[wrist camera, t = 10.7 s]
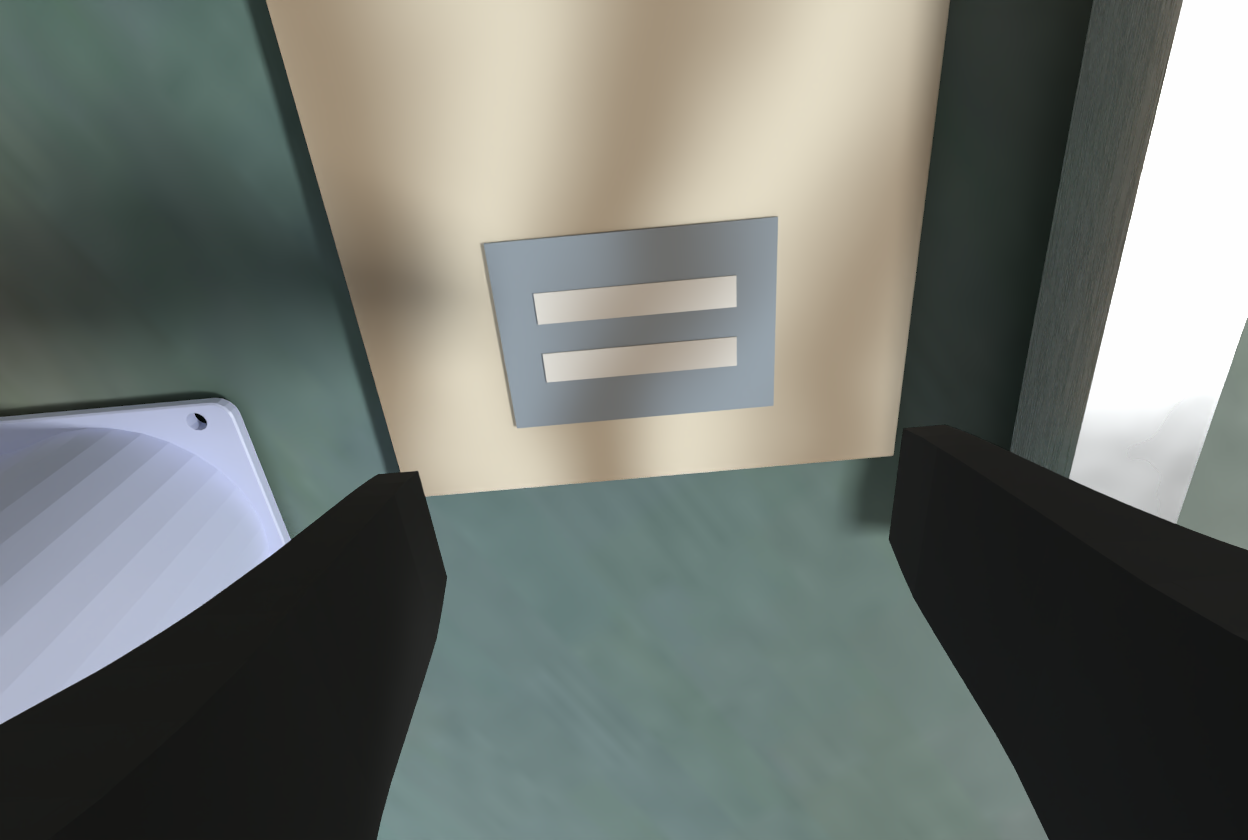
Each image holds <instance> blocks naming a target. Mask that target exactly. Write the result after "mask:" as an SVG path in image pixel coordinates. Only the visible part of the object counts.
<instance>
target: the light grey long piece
mask: <svg viewBox="0 0 1248 840" xmlns="http://www.w3.org/2000/svg"><path fill="white" fill-rule="evenodd" d="M1247 315H1248V0H1093V5H1092V10H1091V16H1090V21H1089V26H1088V32H1087V37H1086V43H1085V48H1084V53H1083V59H1082V64H1081V70H1080V75H1079V80H1078V86H1077V91H1076V97H1075V102H1074V107H1073V113H1072V118H1071V124H1070V129H1069V134H1068V140H1067V145H1066V151H1065V156H1064V161H1063V167H1062V172H1061V178H1060V183H1059V188H1058V194H1057V199H1056V205H1055V210H1054V215H1053V221H1052V226H1051V232H1050V237H1049V242H1048V248H1047V253H1046V259H1045V264H1044V269H1043V275H1042V280H1041V286H1040V291H1039V296H1038V302H1037V307H1036V313H1035V318H1034V323H1033V329H1032V334H1031V340H1030V345H1029V350H1028V356H1027V361H1026V367H1025V372H1024V377H1023V383H1022V388H1021V394H1020V399H1019V404H1018V410H1017V415H1016V421H1015V426H1014V431H1013V437H1012V442H1011V448H1010V452H1012V453H1014V454H1016V455H1018V456H1021V457H1023V458H1025V459H1027V460H1029V461H1031V462H1034V463H1036V464H1038V465H1040V466H1042V467H1044V468H1047V469H1049V470H1051V471H1053V472H1055V473H1058V474H1060V475H1062V476H1064V477H1066V478H1069V479H1071V480H1073V481H1075V482H1077V483H1080V484H1082V485H1084V486H1086V487H1089V488H1091V489H1093V490H1095V491H1098V492H1100V493H1102V494H1105V495H1107V496H1109V497H1112V498H1114V499H1116V500H1118V501H1121V502H1123V503H1125V504H1128V505H1130V506H1133V507H1135V508H1138V509H1140V510H1143V511H1145V512H1148V513H1150V514H1153V515H1155V516H1157V517H1160V518H1162V519H1165V520H1167V521H1170V522H1172V523H1175V524H1176V522H1177V519H1178V517H1179V514H1180V511H1181V508H1182V505H1183V502H1184V499H1185V496H1186V493H1187V490H1188V487H1189V484H1190V481H1191V479H1192V476H1193V473H1194V470H1195V467H1196V464H1197V461H1198V458H1199V455H1200V452H1201V449H1202V446H1203V444H1204V441H1205V438H1206V435H1207V432H1208V429H1209V426H1210V423H1211V420H1212V417H1213V414H1214V411H1215V408H1216V406H1217V403H1218V400H1219V397H1220V394H1221V391H1222V388H1223V385H1224V382H1225V379H1226V376H1227V373H1228V371H1229V368H1230V365H1231V362H1232V359H1233V356H1234V353H1235V350H1236V347H1237V344H1238V341H1239V338H1240V335H1241V333H1242V330H1243V327H1244V324H1245V321H1246V318H1247Z"/></svg>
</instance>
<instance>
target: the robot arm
mask: <svg viewBox="0 0 1248 840" xmlns="http://www.w3.org/2000/svg"><path fill="white" fill-rule="evenodd" d="M195 413H197V414H200V415H202V416H203V417H204V418H205V419H206V421H207V423H202V422H201V421H199V420H198V419H197V418H196V417H195ZM889 541H890V544H891V546H892V549H893V551H894V554H895V556H896V558H897V561H898V563H899V566H900V568H901V571H902V573H903V575H904V578H905V580H906V582H907V584H908V586H909V589H910V591H911V593H912V595H913V598H914V599H915V601H916V603H917V605H918V606H919V608H920V610H921V611H922V613H923V615H924V617H925V618H926V620H927V622H928V623H929V625H930V627H931V628H932V630H933V632H934V633H935V635H936V637H937V638H938V640H939V642H940V643H941V645H942V647H943V648H944V650H945V652H946V653H947V655H948V656H949V658H950V660H951V661H952V663H953V665H954V666H955V668H956V670H957V671H958V673H959V675H960V676H961V678H962V679H963V681H964V683H965V684H966V686H967V688H968V689H969V691H970V693H971V694H972V696H973V698H974V699H975V701H976V702H977V704H978V706H979V707H980V709H981V711H982V712H983V714H984V716H985V717H986V719H987V721H988V722H989V724H990V725H991V727H992V729H993V730H994V732H995V734H996V735H997V737H998V739H999V741H1000V743H1001V744H1002V746H1003V748H1004V750H1005V752H1006V753H1007V755H1008V757H1009V759H1010V761H1011V763H1012V764H1013V766H1014V768H1015V770H1016V772H1017V774H1018V776H1019V778H1020V780H1021V782H1022V784H1023V787H1024V789H1025V791H1026V793H1027V795H1028V797H1029V799H1030V801H1031V803H1032V805H1033V807H1034V809H1035V811H1036V814H1037V816H1038V818H1039V820H1040V822H1041V824H1042V826H1043V828H1044V830H1045V832H1046V834H1047V836H1048V839H1049V840H1248V550H1245V549H1243V548H1240V547H1237V546H1234V545H1231V544H1228V543H1225V542H1222V541H1219V540H1217V539H1214V538H1211V537H1209V536H1206V535H1203V534H1201V533H1198V532H1195V531H1193V530H1190V529H1187V528H1185V527H1182V526H1180V525H1177V524H1175V523H1172V522H1170V521H1167V520H1165V519H1162V518H1160V517H1157V516H1155V515H1153V514H1150V513H1148V512H1145V511H1143V510H1140V509H1138V508H1135V507H1133V506H1130V505H1128V504H1125V503H1123V502H1121V501H1118V500H1116V499H1114V498H1112V497H1109V496H1107V495H1105V494H1102V493H1100V492H1098V491H1095V490H1093V489H1091V488H1089V487H1086V486H1084V485H1082V484H1080V483H1077V482H1075V481H1073V480H1071V479H1069V478H1066V477H1064V476H1062V475H1060V474H1058V473H1055V472H1053V471H1051V470H1049V469H1047V468H1044V467H1042V466H1040V465H1038V464H1036V463H1034V462H1031V461H1029V460H1027V459H1025V458H1023V457H1021V456H1018V455H1016V454H1014V453H1012V452H1010V451H1008V450H1005V449H1003V448H1001V447H999V446H997V445H994V444H992V443H990V442H988V441H985V440H983V439H981V438H979V437H976V436H974V435H972V434H969V433H967V432H964V431H962V430H959V429H956V428H953V427H950V426H948V425H935V426H924V427H913V428H903V434H902V442H901V450H900V457H899V465H898V473H897V480H896V488H895V496H894V503H893V511H892V519H891V527H890V534H889ZM446 581H447V575H446V572H445V568H444V564H443V561H442V557H441V553H440V550H439V546H438V542H437V538H436V535H435V531H434V527H433V524H432V520H431V516H430V513H429V509H428V505H427V501H426V498H425V494H424V490H423V487H422V483H421V479H420V476H419V472H418V471H410V472H399V473H387V474H378V475H376V476H374V477H373V478H371V479H370V480H368V481H367V482H365V483H364V484H362V485H361V486H360V487H358V488H357V489H356V490H354V491H353V492H352V493H350V494H349V495H348V496H346V497H345V498H344V499H343V500H341V501H340V502H339V503H337V504H336V505H335V506H334V507H332V508H331V509H330V510H329V511H327V512H326V513H325V514H323V515H322V516H321V517H320V518H318V519H317V520H316V521H315V522H313V523H312V524H311V525H309V526H308V527H307V528H306V529H304V530H303V531H302V532H300V533H299V534H298V535H297V536H295V537H294V538H293V539H290V537H289V534H288V532H287V529H286V527H285V524H284V522H283V519H282V517H281V514H280V512H279V509H278V507H277V504H276V502H275V499H274V497H273V494H272V492H271V489H270V487H269V484H268V482H267V479H266V477H265V474H264V472H263V469H262V467H261V464H260V462H259V459H258V457H257V454H256V452H255V449H254V447H253V444H252V442H251V439H250V437H249V434H248V432H247V429H246V426H245V424H244V421H243V419H242V416H241V414H240V412H239V410H238V409H237V407H236V406H235V405H234V404H232V403H231V402H230V401H228V400H225V399H223V398H207V399H196V400H185V401H174V402H162V403H151V404H140V405H129V406H118V407H106V408H95V409H84V410H73V411H62V412H50V413H39V414H28V415H17V416H6V417H0V840H377V836H378V831H379V826H380V822H381V817H382V814H383V810H384V807H385V803H386V799H387V796H388V792H389V788H390V785H391V781H392V778H393V775H394V772H395V769H396V766H397V763H398V759H399V756H400V753H401V750H402V747H403V744H404V741H405V738H406V734H407V731H408V728H409V725H410V722H411V719H412V716H413V713H414V709H415V706H416V703H417V700H418V697H419V694H420V691H421V687H422V684H423V681H424V678H425V675H426V671H427V668H428V665H429V662H430V659H431V655H432V652H433V649H434V645H435V642H436V639H437V634H438V628H439V623H440V618H441V612H442V606H443V600H444V593H445V587H446Z"/></svg>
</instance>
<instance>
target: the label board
mask: <svg viewBox="0 0 1248 840" xmlns="http://www.w3.org/2000/svg"><path fill="white" fill-rule="evenodd" d="M266 2H267V6H268V9H269V13H270V16H271V20H272V23H273V27H274V30H275V34H276V37H277V41H278V44H279V48H280V51H281V55H282V58H283V62H284V65H285V69H286V72H287V76H288V79H289V83H290V86H291V90H292V94H293V97H294V101H295V104H296V108H297V111H298V115H299V118H300V122H301V125H302V129H303V132H304V136H305V139H306V143H307V146H308V150H309V153H310V157H311V160H312V164H313V167H314V171H315V174H316V178H317V181H318V185H319V188H320V192H321V195H322V199H323V202H324V206H325V209H326V213H327V216H328V220H329V223H330V227H331V230H332V234H333V237H334V241H335V244H336V248H337V251H338V255H339V258H340V262H341V265H342V269H343V272H344V276H345V279H346V283H347V286H348V290H349V293H350V297H351V300H352V304H353V307H354V311H355V314H356V318H357V321H358V325H359V328H360V332H361V335H362V339H363V342H364V346H365V349H366V353H367V356H368V360H369V363H370V367H371V370H372V374H373V377H374V381H375V384H376V388H377V391H378V395H379V398H380V402H381V405H382V409H383V412H384V416H385V419H386V423H387V426H388V430H389V433H390V437H391V441H392V444H393V448H394V451H395V455H396V458H397V462H398V465H399V469H400V472H410V471H418V472H419V476H420V479H421V483H422V487H423V490H424V494H425V497H426V496H437V495H449V494H460V493H471V492H483V491H494V490H506V489H517V488H529V487H540V486H552V485H563V484H575V483H586V482H598V481H609V480H621V479H632V478H644V477H655V476H667V475H678V474H690V473H701V472H713V471H724V470H736V469H747V468H758V467H770V466H781V465H793V464H804V463H816V462H827V461H839V460H850V459H862V458H873V457H885V456H893V454H894V446H895V438H896V430H897V422H898V414H899V406H900V398H901V390H902V382H903V374H904V366H905V358H906V350H907V342H908V334H909V326H910V317H911V309H912V301H913V293H914V285H915V277H916V269H917V261H918V253H919V245H920V237H921V229H922V221H923V213H924V205H925V197H926V189H927V181H928V173H929V165H930V157H931V149H932V141H933V133H934V125H935V117H936V109H937V101H938V93H939V85H940V77H941V69H942V61H943V53H944V45H945V37H946V28H947V20H948V12H949V4H950V0H266Z"/></svg>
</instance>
